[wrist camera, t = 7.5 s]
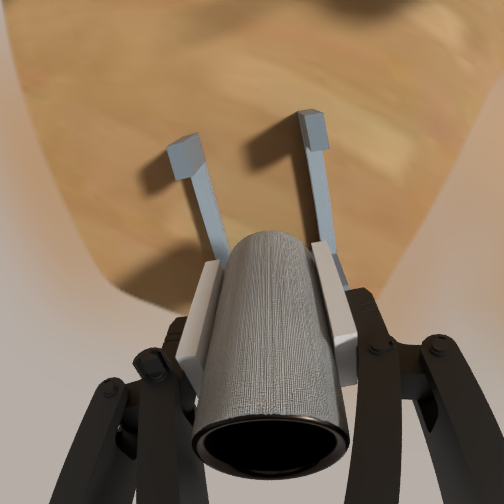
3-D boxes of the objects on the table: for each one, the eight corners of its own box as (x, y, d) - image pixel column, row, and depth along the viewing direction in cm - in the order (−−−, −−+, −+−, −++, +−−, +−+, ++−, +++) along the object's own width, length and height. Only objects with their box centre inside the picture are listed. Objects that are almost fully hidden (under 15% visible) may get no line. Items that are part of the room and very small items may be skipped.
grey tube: (209, 258, 17) (157, 438, 8) (283, 212, 15) (302, 393, 6) (259, 316, 18) (251, 488, 9) (329, 278, 17) (372, 456, 8)
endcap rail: (183, 136, 20) (160, 150, 15) (312, 108, 19) (326, 113, 14) (225, 277, 25) (216, 319, 20) (335, 258, 24) (349, 297, 19)
